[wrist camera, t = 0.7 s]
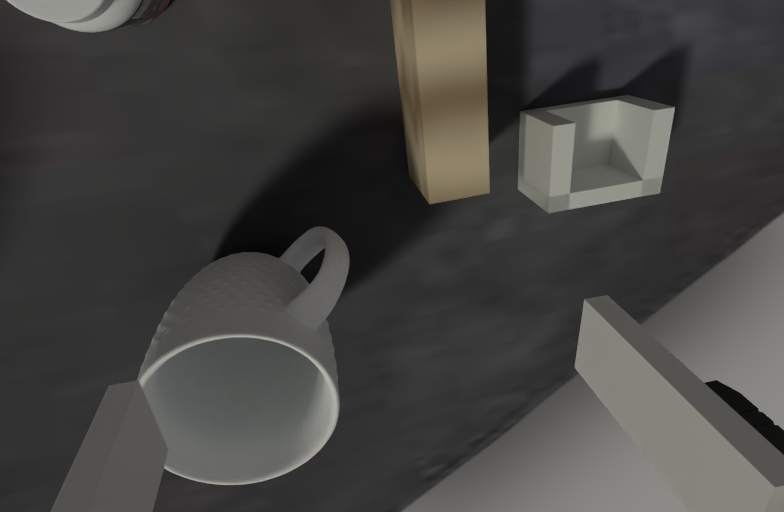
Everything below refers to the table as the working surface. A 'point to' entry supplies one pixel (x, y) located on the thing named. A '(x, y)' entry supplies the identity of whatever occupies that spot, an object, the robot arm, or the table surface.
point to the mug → (248, 364)
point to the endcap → (593, 151)
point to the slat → (444, 95)
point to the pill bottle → (93, 13)
